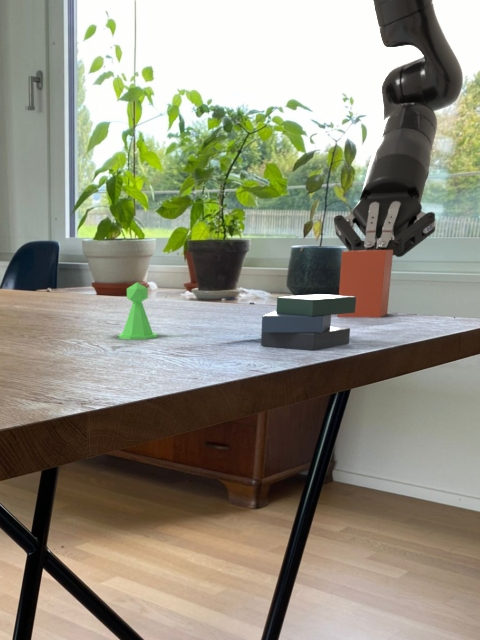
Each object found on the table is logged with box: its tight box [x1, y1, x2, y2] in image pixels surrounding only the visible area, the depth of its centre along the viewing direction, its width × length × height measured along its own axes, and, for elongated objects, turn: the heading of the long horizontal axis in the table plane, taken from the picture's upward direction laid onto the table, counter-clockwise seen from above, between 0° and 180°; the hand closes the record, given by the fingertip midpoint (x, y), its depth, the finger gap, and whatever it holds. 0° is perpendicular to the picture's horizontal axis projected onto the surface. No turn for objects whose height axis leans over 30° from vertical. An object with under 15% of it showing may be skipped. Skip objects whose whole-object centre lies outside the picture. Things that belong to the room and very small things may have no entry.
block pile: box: [260, 293, 356, 351], centre depth 80 cm, size 8×8×4 cm
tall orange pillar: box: [336, 250, 394, 318], centre depth 101 cm, size 5×5×8 cm
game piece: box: [118, 281, 158, 340], centre depth 86 cm, size 4×4×6 cm
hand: (369, 277), depth 103 cm, fingers closed
